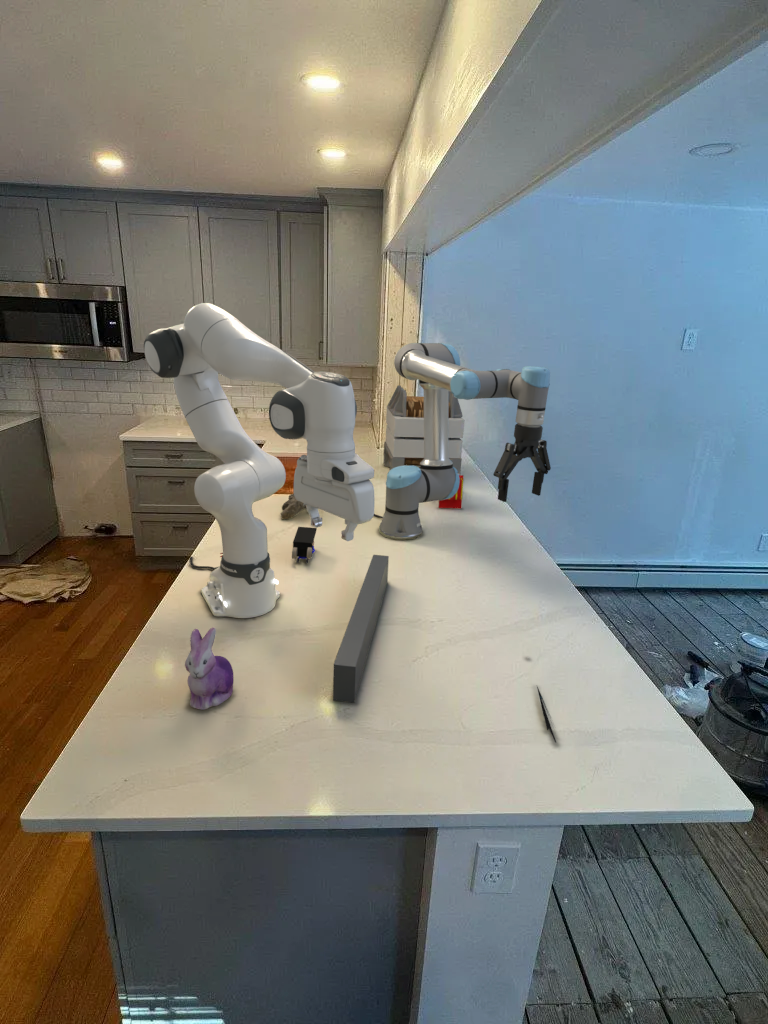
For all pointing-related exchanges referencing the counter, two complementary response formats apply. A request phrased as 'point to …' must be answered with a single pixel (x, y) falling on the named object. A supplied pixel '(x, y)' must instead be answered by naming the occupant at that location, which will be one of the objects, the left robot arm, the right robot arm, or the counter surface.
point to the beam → (360, 632)
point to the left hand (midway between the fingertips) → (331, 532)
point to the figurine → (207, 672)
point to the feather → (545, 714)
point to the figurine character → (304, 543)
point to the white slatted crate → (417, 430)
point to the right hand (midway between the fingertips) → (519, 497)
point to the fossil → (292, 507)
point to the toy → (454, 498)
